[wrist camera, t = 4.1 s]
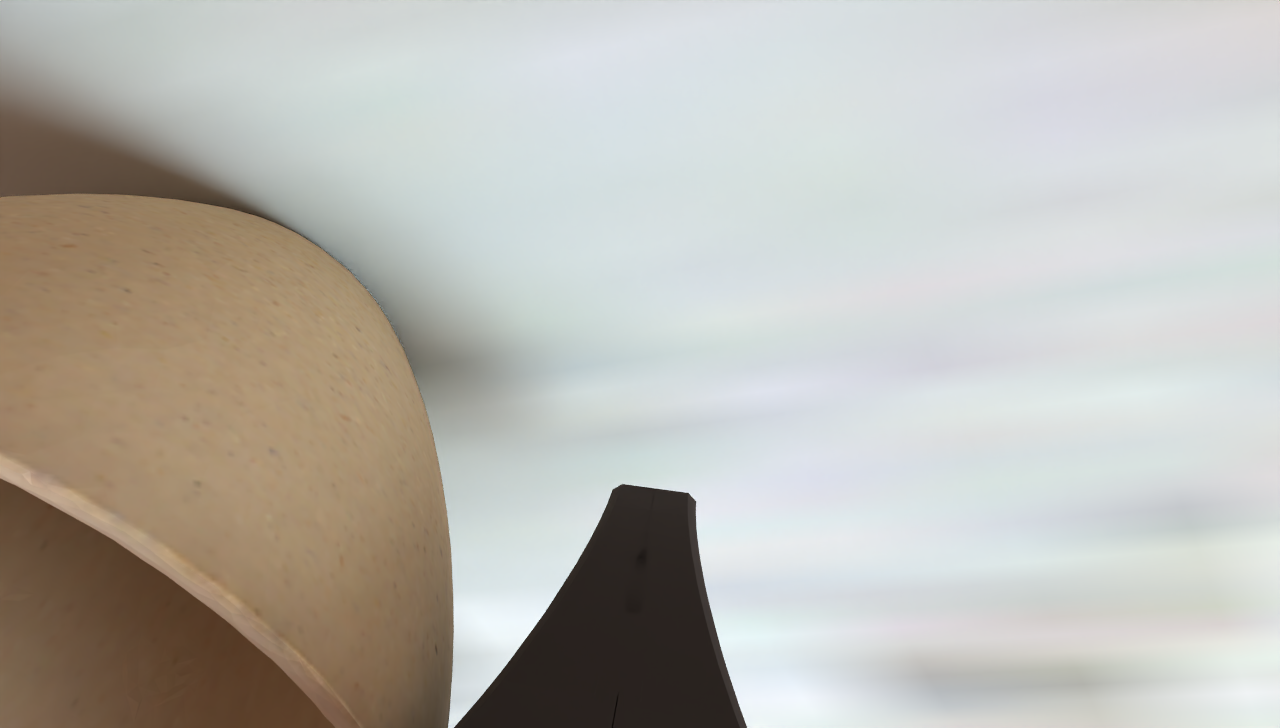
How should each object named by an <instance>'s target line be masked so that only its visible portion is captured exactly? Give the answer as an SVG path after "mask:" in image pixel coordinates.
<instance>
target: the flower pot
mask: <svg viewBox="0 0 1280 728" xmlns="http://www.w3.org/2000/svg"><path fill="white" fill-rule="evenodd" d="M453 633H454V625H453V584H452V562H451V545H450V536H449V527H448V518H447V510H446V504H445V497H444V491H443V484H442V478H441V473H440V468H439V462H438V457H437V453H436V448H435V443H434V438H433V434H432V430H431V426H430V423H429V419H428V416H427V412H426V409H425V405H424V403H423V400H422V397H421V394H420V391H419V388H418V385H417V382H416V379H415V377H414V374H413V372H412V369H411V367H410V364H409V362H408V359H407V357H406V354H405V352H404V349H403V347H402V346H401V344H400V342H399V340H398V338H397V336H396V334H395V332H394V330H393V328H392V326H391V324H390V323H389V321H388V319H387V318H386V316H385V315H384V313H383V311H382V310H381V308H380V307H379V305H378V304H377V302H376V301H375V300H374V298H373V297H372V296H371V295H370V293H369V292H368V291H367V290H366V289H365V288H364V286H363V285H362V284H361V283H360V282H359V281H358V280H357V279H356V278H355V277H354V275H353V274H352V273H351V272H350V271H349V270H348V269H346V268H345V267H344V266H343V265H341V264H340V263H339V262H338V261H336V260H335V259H334V258H333V257H331V256H330V255H329V254H327V253H326V252H325V251H324V250H322V249H321V248H320V247H318V246H317V245H315V244H313V243H312V242H310V241H309V240H307V239H305V238H304V237H302V236H301V235H299V234H297V233H295V232H293V231H291V230H289V229H287V228H285V227H283V226H281V225H279V224H276V223H274V222H272V221H269V220H266V219H264V218H261V217H258V216H255V215H251V214H248V213H244V212H241V211H238V210H234V209H230V208H225V207H219V206H214V205H208V204H202V203H196V202H190V201H183V200H177V199H168V198H157V197H147V196H134V195H115V194H52V195H25V196H5V197H0V728H448V721H449V711H450V697H451V682H452V666H453Z"/></svg>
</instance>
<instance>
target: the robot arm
mask: <svg viewBox="0 0 1280 728" xmlns="http://www.w3.org/2000/svg"><path fill="white" fill-rule="evenodd" d="M454 728H747V726H746V724H745V721H744V718H743V715H742V712H741V710H740V707H739V704H738V701H737V698H736V695H735V692H734V689H733V686H732V683H731V680H730V677H729V674H728V671H727V667H726V664H725V661H724V657H723V654H722V651H721V647H720V644H719V640H718V636H717V632H716V628H715V625H714V621H713V617H712V613H711V609H710V605H709V601H708V597H707V592H706V588H705V583H704V578H703V572H702V567H701V561H700V555H699V548H698V541H697V531H696V501H695V500H694V499H693V498H692V497H691V496H690V494H689V493H684V492H676V491H669V490H662V489H654V488H647V487H639V486H632V485H625V484H622V485H620V486H618V487H617V488H615V489H613V490H612V493H611V496H610V498H609V501H608V504H607V506H606V508H605V511H604V513H603V515H602V517H601V519H600V521H599V523H598V525H597V527H596V529H595V531H594V533H593V535H592V537H591V539H590V541H589V542H588V544H587V546H586V548H585V549H584V551H583V553H582V555H581V556H580V558H579V560H578V562H577V563H576V565H575V567H574V568H573V570H572V571H571V573H570V575H569V576H568V578H567V579H566V581H565V582H564V584H563V586H562V587H561V589H560V590H559V592H558V593H557V595H556V596H555V598H554V600H553V601H552V603H551V604H550V606H549V607H548V609H547V610H546V612H545V613H544V615H543V616H542V618H541V619H540V620H539V622H538V623H537V624H536V626H535V627H534V629H533V630H532V631H531V633H530V634H529V635H528V637H527V638H526V639H525V641H524V642H523V643H522V645H521V646H520V648H519V649H518V650H517V652H516V653H515V654H514V656H513V657H512V658H511V660H510V661H509V662H508V664H507V665H506V666H505V668H504V669H503V670H502V671H501V673H500V674H499V675H498V676H497V678H496V679H495V680H494V681H493V683H492V684H491V685H490V686H489V688H488V689H487V690H486V691H485V692H484V694H483V695H482V696H481V697H480V698H479V700H478V701H477V702H476V703H475V704H474V705H473V707H472V708H471V709H470V710H469V711H468V712H467V714H466V715H465V716H464V717H463V718H462V719H461V720H460V722H459V723H458V724H457V725H456V726H455V727H454Z"/></svg>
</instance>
